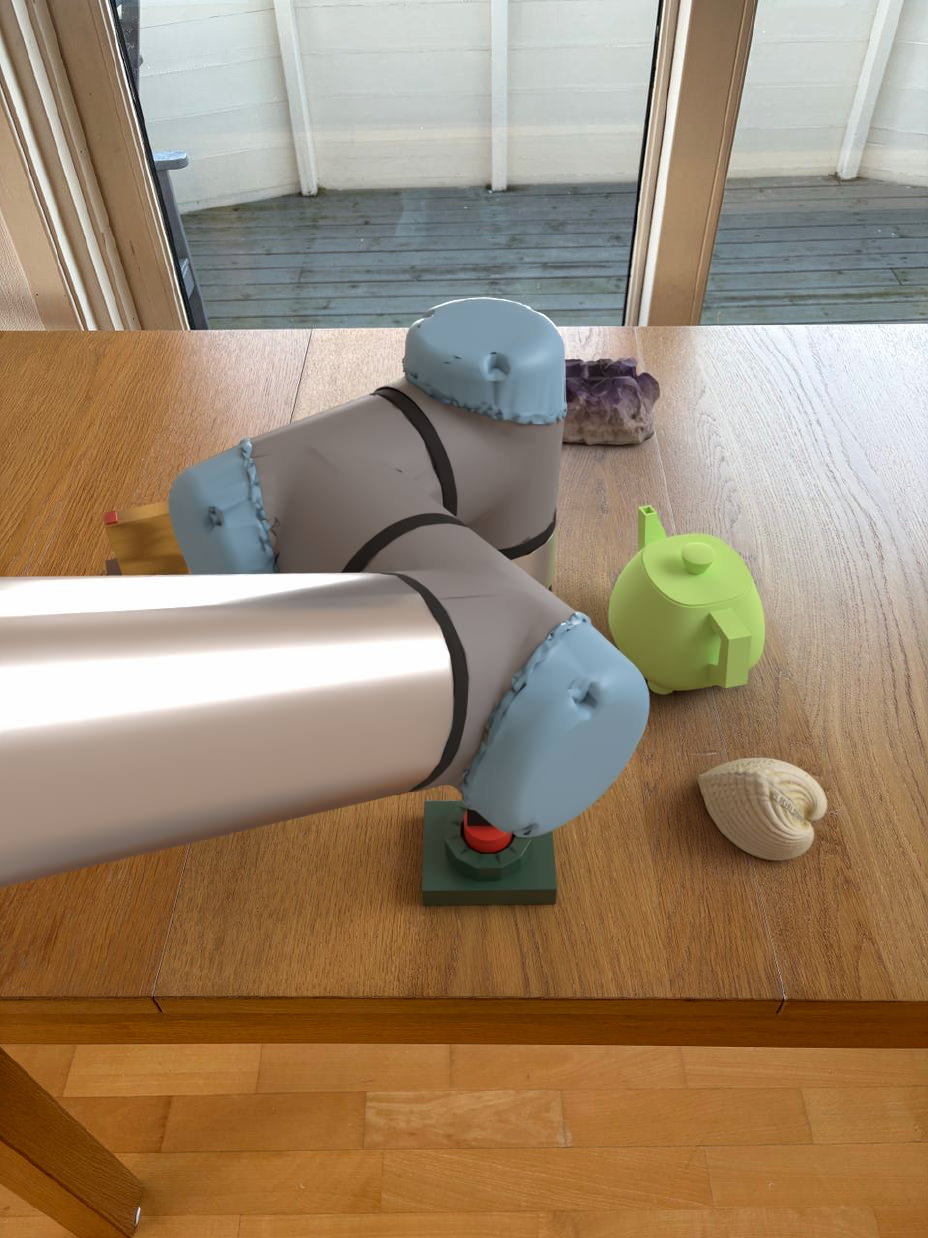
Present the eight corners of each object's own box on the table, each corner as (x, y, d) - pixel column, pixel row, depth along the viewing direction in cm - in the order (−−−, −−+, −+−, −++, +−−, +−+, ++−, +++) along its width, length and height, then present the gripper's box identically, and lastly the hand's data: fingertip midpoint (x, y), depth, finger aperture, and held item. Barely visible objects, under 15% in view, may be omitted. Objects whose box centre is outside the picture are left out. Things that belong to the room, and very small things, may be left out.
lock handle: (190, 572, 95) (168, 497, 88) (193, 584, 93) (171, 510, 87) (129, 586, 93) (102, 511, 87) (131, 599, 92) (103, 524, 86)
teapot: (574, 596, 95) (582, 495, 86) (697, 571, 98) (717, 470, 89) (654, 749, 81) (674, 647, 73) (795, 715, 84) (831, 612, 75)
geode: (487, 455, 113) (483, 375, 107) (491, 414, 123) (488, 338, 117) (659, 451, 112) (665, 370, 106) (650, 410, 121) (655, 333, 115)
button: (464, 853, 70) (463, 840, 69) (464, 812, 73) (463, 799, 72) (512, 853, 70) (513, 840, 69) (511, 812, 73) (511, 798, 72)
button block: (422, 906, 71) (420, 878, 69) (425, 816, 77) (423, 786, 74) (555, 904, 71) (558, 876, 68) (549, 814, 77) (551, 785, 74)
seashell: (813, 879, 70) (727, 820, 69) (752, 869, 78) (675, 816, 77) (858, 785, 72) (776, 726, 71) (795, 785, 80) (720, 732, 79)
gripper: (423, 508, 58) (436, 748, 75) (415, 662, 49) (432, 898, 65) (545, 506, 58) (531, 747, 75) (560, 661, 49) (541, 897, 65)
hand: (485, 817), depth 70 cm, fingers closed
